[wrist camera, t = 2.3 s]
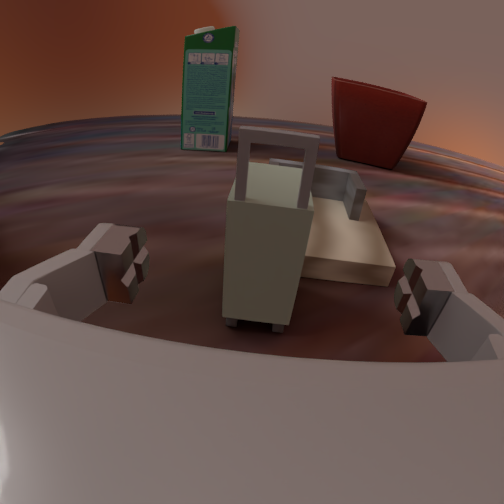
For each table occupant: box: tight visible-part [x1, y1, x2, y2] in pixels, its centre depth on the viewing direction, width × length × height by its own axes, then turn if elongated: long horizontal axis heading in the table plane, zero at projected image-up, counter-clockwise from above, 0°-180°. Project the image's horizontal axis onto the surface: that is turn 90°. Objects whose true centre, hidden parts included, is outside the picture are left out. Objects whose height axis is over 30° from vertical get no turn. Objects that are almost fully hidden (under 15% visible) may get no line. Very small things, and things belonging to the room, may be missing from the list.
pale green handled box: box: [222, 126, 320, 333], centre depth 23 cm, size 5×7×15 cm
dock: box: [269, 158, 396, 287], centre depth 35 cm, size 16×15×6 cm
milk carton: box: [181, 26, 239, 152], centre depth 57 cm, size 9×9×25 cm
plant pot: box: [332, 77, 427, 169], centre depth 64 cm, size 19×19×17 cm
